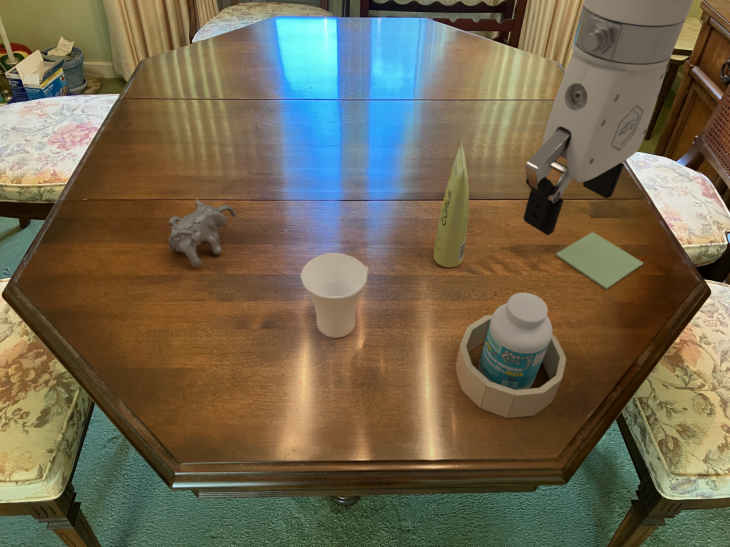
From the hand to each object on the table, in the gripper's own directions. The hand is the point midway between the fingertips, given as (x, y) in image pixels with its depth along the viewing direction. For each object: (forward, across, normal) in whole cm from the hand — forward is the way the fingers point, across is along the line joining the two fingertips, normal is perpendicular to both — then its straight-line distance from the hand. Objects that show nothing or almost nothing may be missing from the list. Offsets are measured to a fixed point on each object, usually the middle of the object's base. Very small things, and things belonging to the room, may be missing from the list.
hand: (568, 208), depth 55 cm
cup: (+28, -13, +22) cm, 38 cm away
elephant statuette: (+28, -20, +49) cm, 60 cm away
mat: (+27, +29, +6) cm, 40 cm away
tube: (+28, +10, +22) cm, 37 cm away
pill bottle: (+28, -1, 0) cm, 28 cm away
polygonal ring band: (+27, -1, 0) cm, 27 cm away
